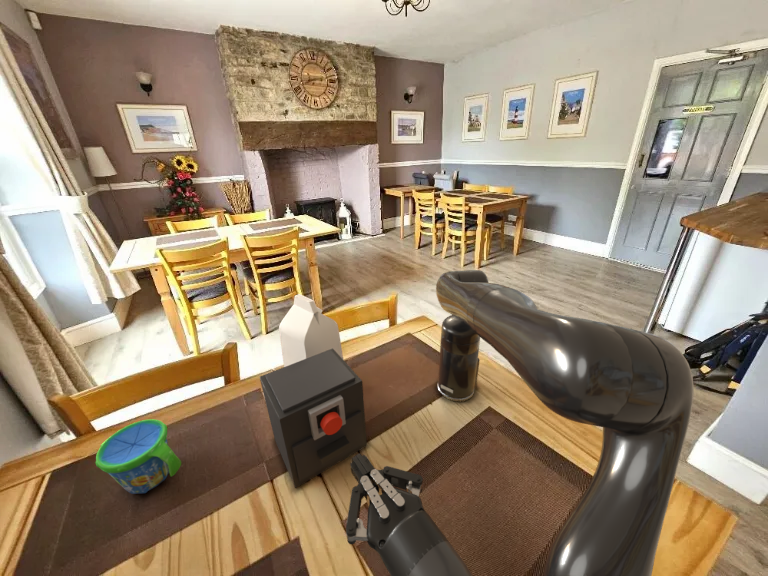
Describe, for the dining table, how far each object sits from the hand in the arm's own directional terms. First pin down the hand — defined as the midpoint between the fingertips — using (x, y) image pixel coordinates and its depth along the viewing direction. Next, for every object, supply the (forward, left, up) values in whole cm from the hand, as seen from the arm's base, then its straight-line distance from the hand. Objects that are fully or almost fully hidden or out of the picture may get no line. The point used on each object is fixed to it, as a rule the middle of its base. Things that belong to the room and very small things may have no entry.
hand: (355, 459), depth 49 cm
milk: (-7, -36, -14) cm, 39 cm away
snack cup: (+31, -30, -14) cm, 45 cm away
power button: (0, -8, -2) cm, 9 cm away
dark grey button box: (0, -16, -14) cm, 21 cm away
